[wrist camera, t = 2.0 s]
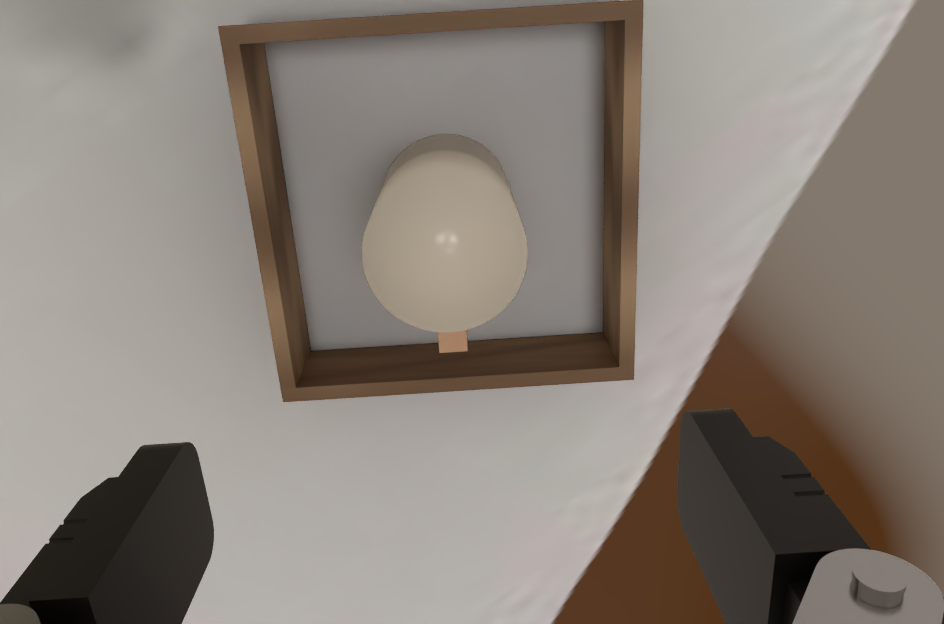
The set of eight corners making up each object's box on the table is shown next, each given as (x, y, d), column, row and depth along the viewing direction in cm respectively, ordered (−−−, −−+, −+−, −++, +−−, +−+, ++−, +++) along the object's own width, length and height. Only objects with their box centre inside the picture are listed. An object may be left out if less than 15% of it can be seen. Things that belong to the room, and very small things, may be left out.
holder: (244, 24, 28) (218, 26, 25) (621, 1, 28) (643, -1, 25) (299, 364, 33) (283, 402, 30) (616, 344, 33) (633, 379, 30)
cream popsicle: (377, 138, 30) (352, 179, 22) (507, 130, 30) (525, 168, 22) (393, 292, 32) (375, 375, 25) (513, 285, 32) (531, 366, 25)
